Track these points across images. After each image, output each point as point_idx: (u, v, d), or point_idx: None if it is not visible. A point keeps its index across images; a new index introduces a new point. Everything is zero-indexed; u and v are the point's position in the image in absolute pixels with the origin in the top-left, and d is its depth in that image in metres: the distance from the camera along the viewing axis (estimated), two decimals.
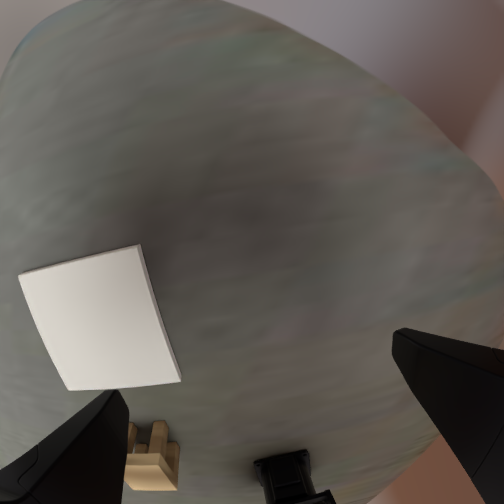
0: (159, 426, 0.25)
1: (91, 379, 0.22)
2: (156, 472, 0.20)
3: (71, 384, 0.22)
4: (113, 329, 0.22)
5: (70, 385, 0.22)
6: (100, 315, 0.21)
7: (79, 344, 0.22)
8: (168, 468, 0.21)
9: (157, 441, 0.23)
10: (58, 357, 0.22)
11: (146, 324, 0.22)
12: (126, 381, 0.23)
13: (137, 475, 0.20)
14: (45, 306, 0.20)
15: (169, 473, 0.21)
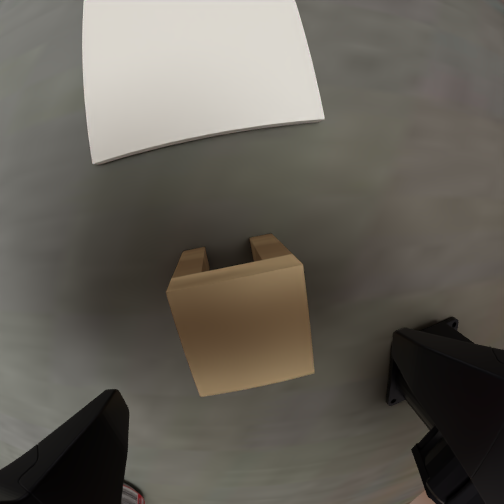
0: (265, 238, 0.15)
1: (152, 122, 0.13)
2: (286, 302, 0.11)
3: (104, 145, 0.13)
4: (228, 25, 0.12)
5: (101, 149, 0.13)
6: (210, 9, 0.12)
7: (154, 54, 0.12)
8: None
9: (274, 247, 0.13)
10: (99, 89, 0.12)
11: (282, 22, 0.12)
12: (226, 117, 0.13)
13: (230, 327, 0.11)
14: (115, 11, 0.11)
15: None
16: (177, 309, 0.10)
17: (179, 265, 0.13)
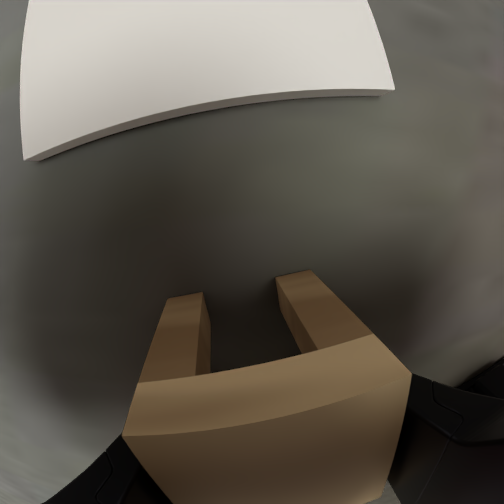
0: (303, 280, 0.09)
1: (114, 86, 0.07)
2: (367, 437, 0.04)
3: (40, 130, 0.07)
4: None
5: (35, 135, 0.07)
6: None
7: None
8: None
9: (328, 308, 0.07)
10: (42, 47, 0.06)
11: None
12: (239, 74, 0.07)
13: (257, 480, 0.04)
14: None
15: None
16: (150, 460, 0.04)
17: (156, 340, 0.07)
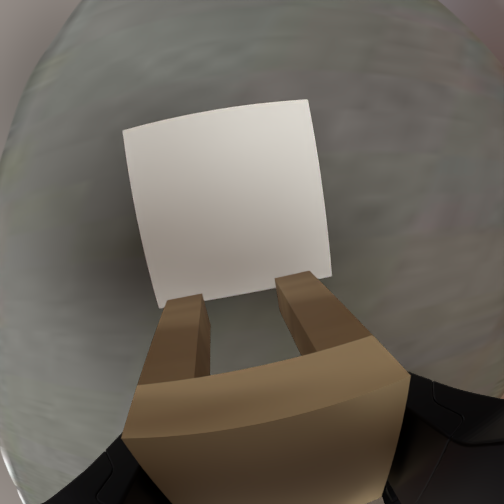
0: (302, 281, 0.09)
1: (205, 283, 0.19)
2: (366, 438, 0.04)
3: (167, 296, 0.19)
4: (262, 197, 0.19)
5: (165, 298, 0.19)
6: (247, 178, 0.18)
7: (202, 224, 0.18)
8: None
9: (327, 309, 0.07)
10: (158, 250, 0.19)
11: (307, 191, 0.19)
12: (260, 280, 0.20)
13: (257, 482, 0.04)
14: (159, 169, 0.17)
15: None
16: (150, 462, 0.04)
17: (156, 342, 0.07)
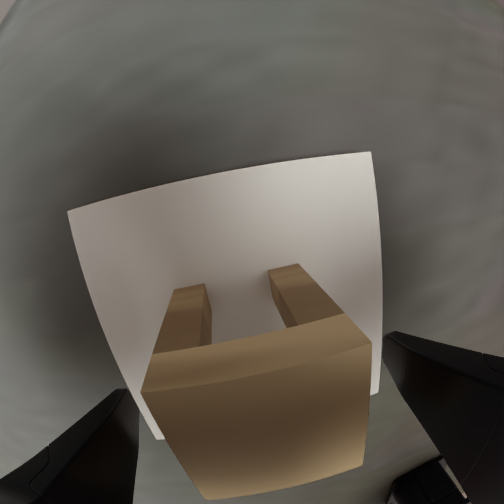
0: (291, 272, 0.11)
1: None
2: (340, 398, 0.06)
3: None
4: None
5: None
6: None
7: None
8: None
9: (310, 294, 0.08)
10: None
11: (361, 300, 0.12)
12: None
13: (249, 435, 0.06)
14: (131, 278, 0.11)
15: None
16: (162, 415, 0.05)
17: (166, 322, 0.08)
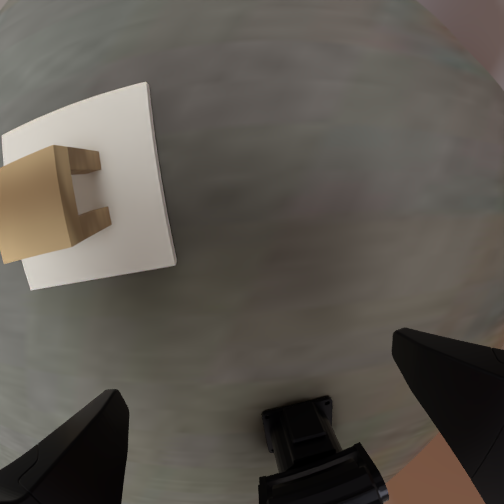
0: None
1: (60, 268, 0.18)
2: (43, 176, 0.11)
3: (35, 279, 0.18)
4: (99, 185, 0.17)
5: (33, 281, 0.18)
6: None
7: None
8: (71, 191, 0.12)
9: None
10: None
11: (141, 176, 0.17)
12: (103, 267, 0.18)
13: (14, 198, 0.11)
14: None
15: (68, 198, 0.12)
16: None
17: None
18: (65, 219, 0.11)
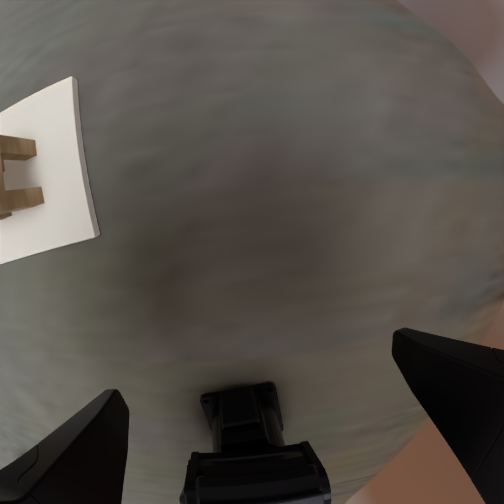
0: None
1: (7, 245, 0.17)
2: None
3: None
4: (35, 169, 0.17)
5: None
6: None
7: None
8: None
9: None
10: None
11: (66, 157, 0.17)
12: (39, 242, 0.18)
13: None
14: None
15: None
16: None
17: None
18: None
